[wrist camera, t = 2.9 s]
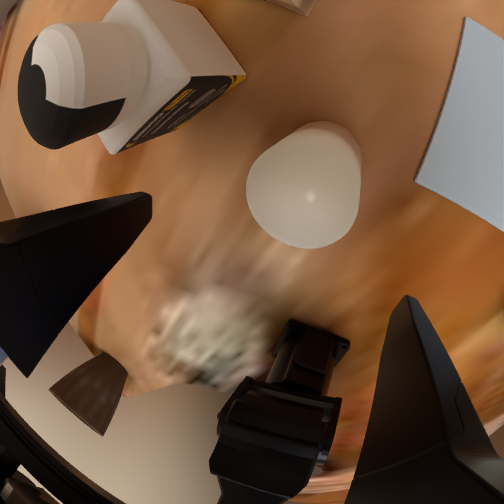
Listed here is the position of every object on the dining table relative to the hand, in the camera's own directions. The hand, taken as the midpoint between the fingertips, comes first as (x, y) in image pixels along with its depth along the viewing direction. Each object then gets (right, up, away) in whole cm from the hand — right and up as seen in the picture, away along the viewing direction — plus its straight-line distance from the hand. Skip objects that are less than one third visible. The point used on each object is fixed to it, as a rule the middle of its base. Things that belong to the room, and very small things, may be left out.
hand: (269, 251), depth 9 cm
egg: (+4, +6, +8) cm, 11 cm away
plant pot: (-31, -25, +47) cm, 62 cm away
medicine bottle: (-5, +13, +8) cm, 16 cm away
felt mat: (+16, +7, +2) cm, 18 cm away
